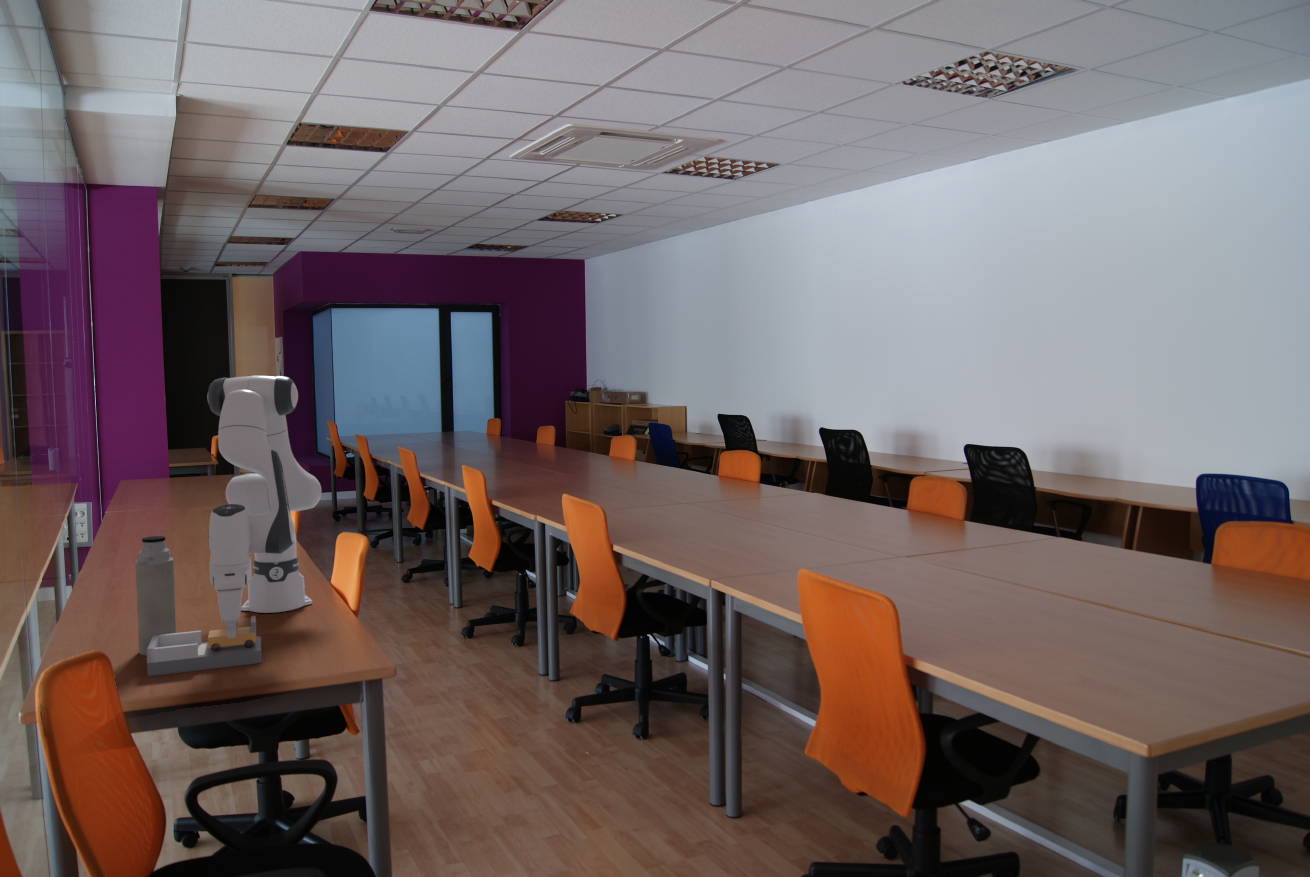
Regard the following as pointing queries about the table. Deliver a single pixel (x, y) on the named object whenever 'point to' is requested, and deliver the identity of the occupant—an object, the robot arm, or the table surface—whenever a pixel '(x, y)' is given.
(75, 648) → the table surface
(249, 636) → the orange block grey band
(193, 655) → the dock
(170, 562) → the thermos bottle
